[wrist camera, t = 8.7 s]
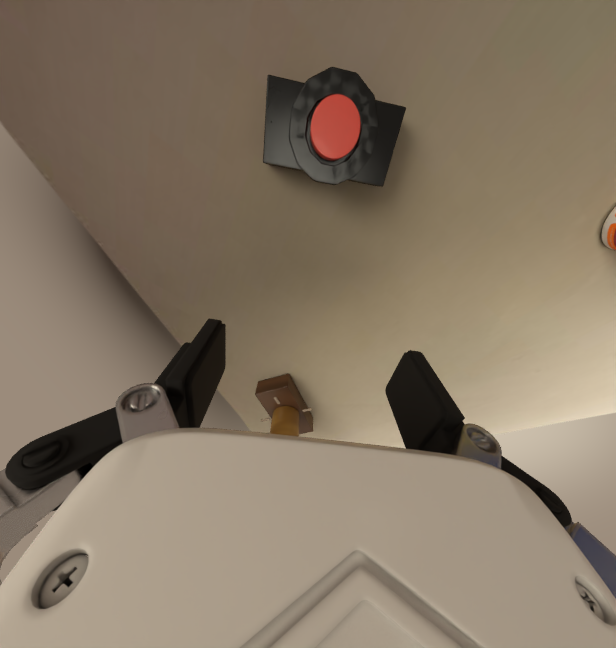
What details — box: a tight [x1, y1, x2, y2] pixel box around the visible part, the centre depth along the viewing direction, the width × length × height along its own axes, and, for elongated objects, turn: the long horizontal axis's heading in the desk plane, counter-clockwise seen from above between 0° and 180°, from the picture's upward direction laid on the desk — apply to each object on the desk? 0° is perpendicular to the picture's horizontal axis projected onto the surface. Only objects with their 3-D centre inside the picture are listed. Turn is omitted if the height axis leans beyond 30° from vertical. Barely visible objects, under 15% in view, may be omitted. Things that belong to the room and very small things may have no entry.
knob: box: [270, 406, 299, 437], centre depth 32 cm, size 4×4×5 cm
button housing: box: [263, 67, 406, 187], centre depth 18 cm, size 10×6×4 cm, turn 81°
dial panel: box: [255, 374, 313, 434], centre depth 36 cm, size 11×8×3 cm
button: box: [310, 94, 361, 161], centre depth 15 cm, size 3×3×2 cm
